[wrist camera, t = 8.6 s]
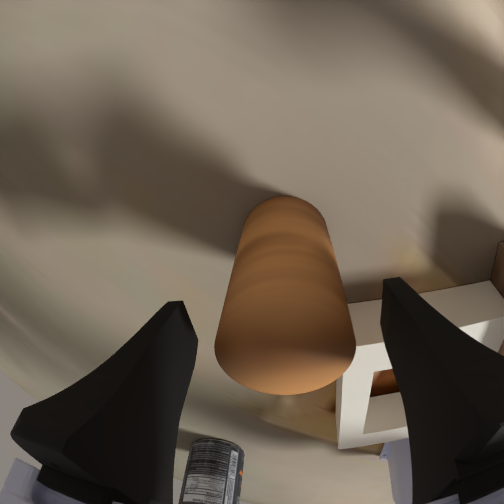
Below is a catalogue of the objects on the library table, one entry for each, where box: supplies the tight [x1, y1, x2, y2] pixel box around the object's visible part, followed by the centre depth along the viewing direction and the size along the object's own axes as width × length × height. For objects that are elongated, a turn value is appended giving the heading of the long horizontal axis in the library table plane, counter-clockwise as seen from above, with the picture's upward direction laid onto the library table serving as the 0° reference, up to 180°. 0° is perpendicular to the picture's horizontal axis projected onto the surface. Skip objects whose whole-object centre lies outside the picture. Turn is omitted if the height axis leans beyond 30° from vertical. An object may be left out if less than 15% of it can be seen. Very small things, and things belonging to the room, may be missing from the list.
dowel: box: [214, 196, 356, 395], centre depth 13 cm, size 4×4×8 cm
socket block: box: [335, 280, 504, 450], centre depth 19 cm, size 13×11×4 cm
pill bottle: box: [179, 439, 244, 504], centre depth 25 cm, size 6×6×11 cm
